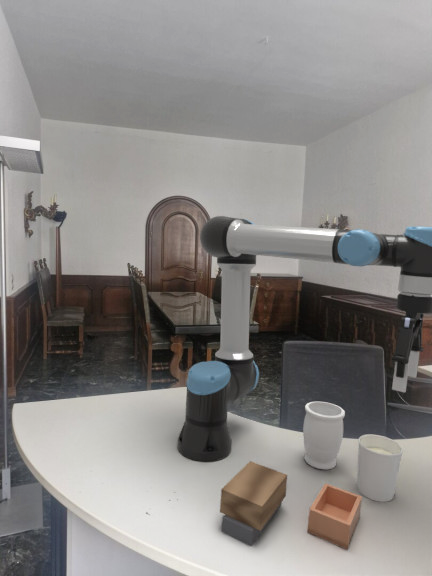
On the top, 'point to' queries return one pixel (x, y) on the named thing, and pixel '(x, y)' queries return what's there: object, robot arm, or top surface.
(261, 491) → the brown wooden block
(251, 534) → the block
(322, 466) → the jar
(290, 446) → the top surface
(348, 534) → the dish
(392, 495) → the candle holder
